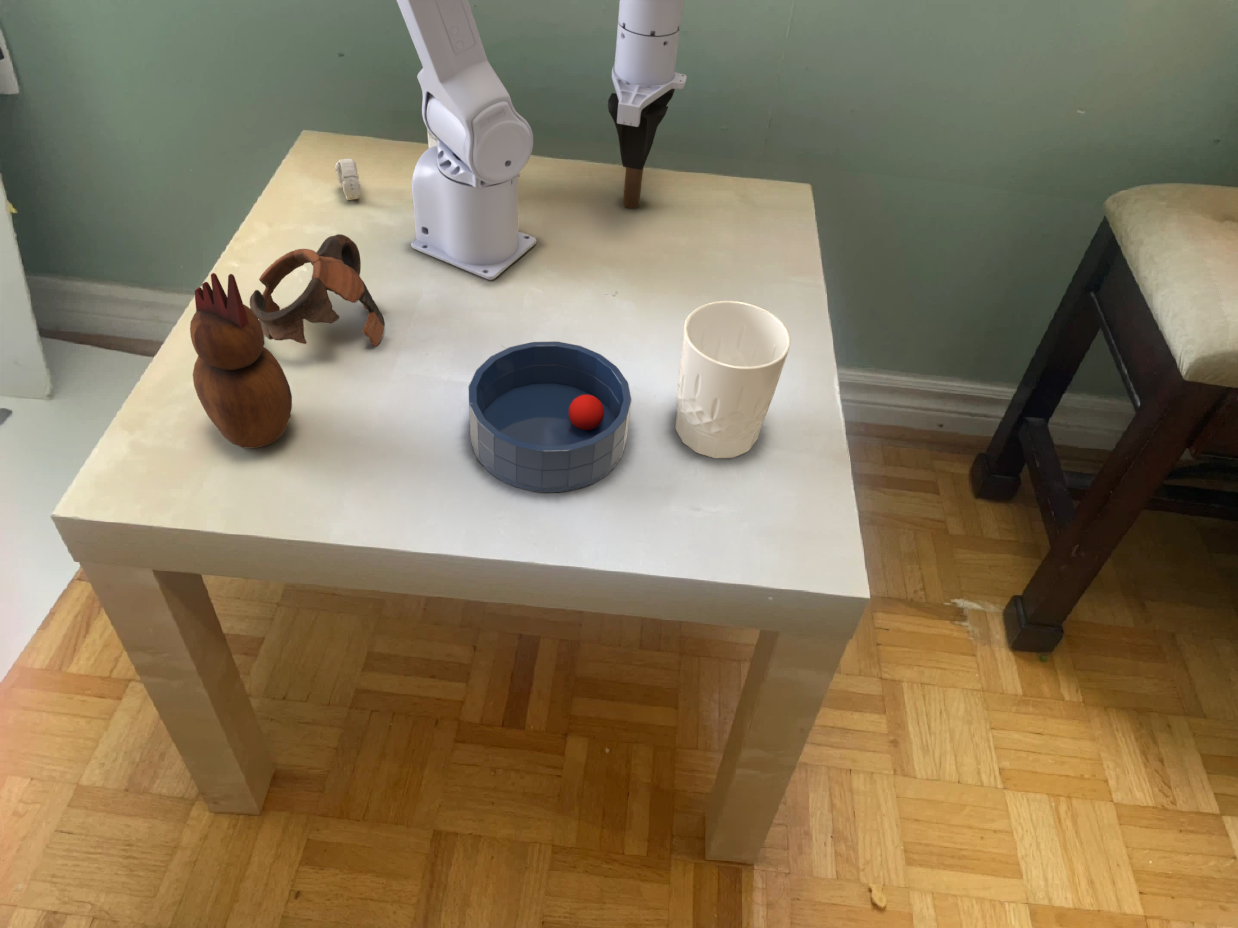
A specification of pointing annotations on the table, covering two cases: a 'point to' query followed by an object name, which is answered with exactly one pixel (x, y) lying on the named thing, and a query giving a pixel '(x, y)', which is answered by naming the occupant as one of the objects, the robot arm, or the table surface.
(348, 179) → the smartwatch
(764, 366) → the white cup
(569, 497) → the table surface
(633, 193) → the stick
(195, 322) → the wooden figurine
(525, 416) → the bowl
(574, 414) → the red ball
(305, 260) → the brown curved pieces
